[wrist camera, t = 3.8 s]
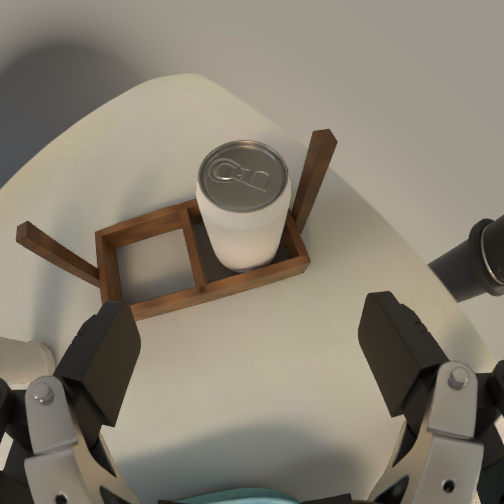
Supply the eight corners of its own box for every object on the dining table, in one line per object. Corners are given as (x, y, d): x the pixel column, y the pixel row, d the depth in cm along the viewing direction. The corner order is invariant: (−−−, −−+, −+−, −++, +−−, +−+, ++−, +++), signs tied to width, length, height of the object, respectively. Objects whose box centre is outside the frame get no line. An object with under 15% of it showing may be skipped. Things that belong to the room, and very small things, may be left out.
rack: (284, 193, 30) (304, 92, 17) (315, 269, 27) (369, 195, 14) (100, 247, 28) (23, 180, 14) (110, 327, 25) (14, 300, 12)
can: (227, 208, 29) (215, 127, 18) (285, 225, 29) (305, 149, 17) (204, 263, 27) (173, 201, 16) (266, 284, 26) (278, 233, 15)
